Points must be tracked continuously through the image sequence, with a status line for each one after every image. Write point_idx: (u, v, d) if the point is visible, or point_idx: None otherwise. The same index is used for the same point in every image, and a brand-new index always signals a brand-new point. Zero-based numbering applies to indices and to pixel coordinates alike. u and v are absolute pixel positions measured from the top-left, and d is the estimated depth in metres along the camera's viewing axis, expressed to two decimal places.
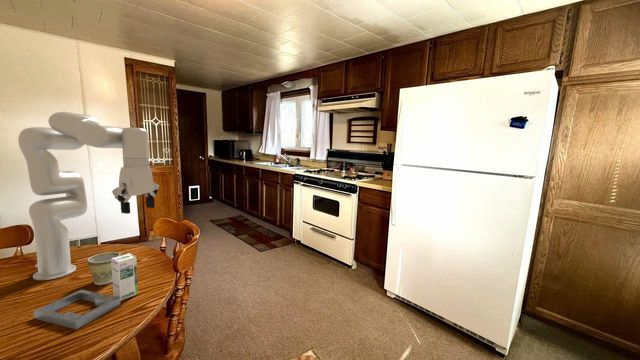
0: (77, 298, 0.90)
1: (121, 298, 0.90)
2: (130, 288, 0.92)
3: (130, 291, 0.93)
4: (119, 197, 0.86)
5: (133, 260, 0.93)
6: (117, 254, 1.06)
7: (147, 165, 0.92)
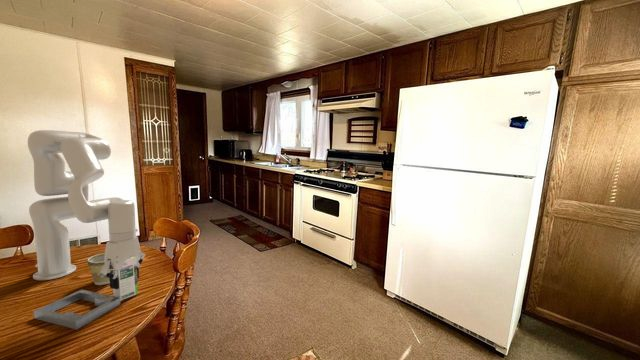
0: (77, 298, 0.90)
1: (121, 298, 0.90)
2: (130, 288, 0.92)
3: (130, 291, 0.93)
4: (108, 275, 0.87)
5: (133, 260, 0.93)
6: None
7: (133, 237, 0.92)
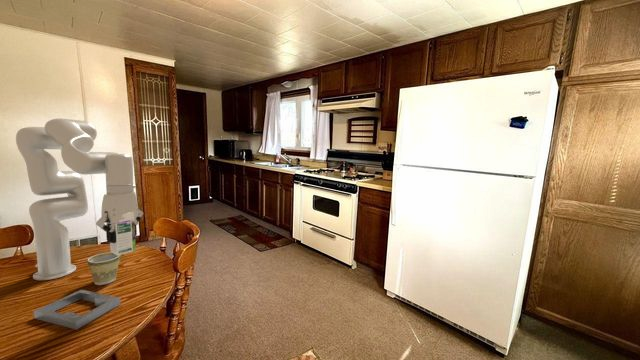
0: (77, 298, 0.90)
1: (118, 253, 0.89)
2: (127, 244, 0.91)
3: (128, 247, 0.91)
4: (104, 227, 0.85)
5: (131, 215, 0.91)
6: None
7: (131, 191, 0.90)
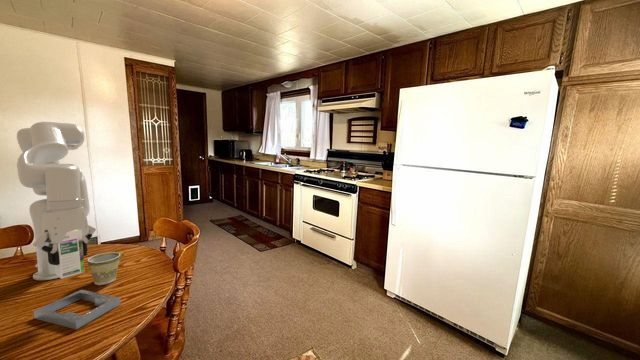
0: (77, 298, 0.90)
1: (62, 276, 0.80)
2: (73, 265, 0.82)
3: (74, 269, 0.82)
4: (44, 248, 0.76)
5: (78, 233, 0.82)
6: (117, 254, 1.06)
7: (77, 207, 0.81)
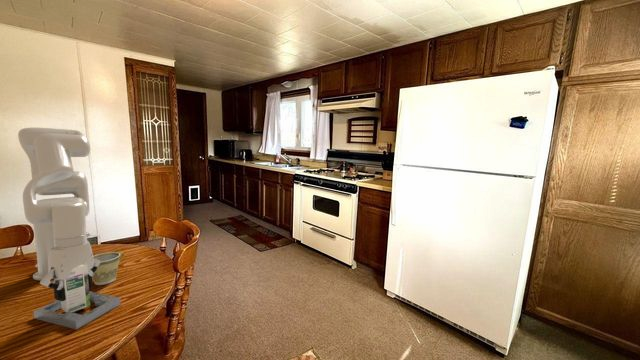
0: None
1: (68, 311, 0.81)
2: (79, 300, 0.83)
3: (80, 303, 0.83)
4: (50, 286, 0.77)
5: (83, 268, 0.83)
6: (117, 254, 1.06)
7: (83, 243, 0.82)
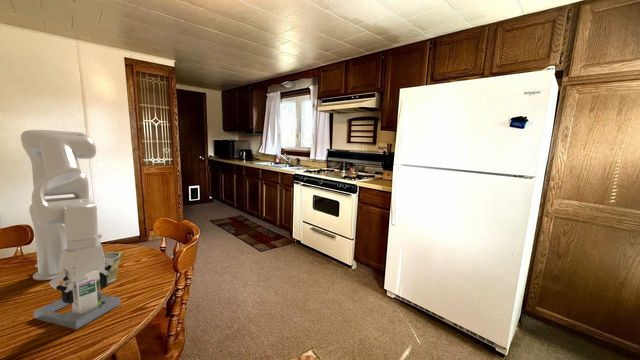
0: None
1: None
2: (91, 306, 0.82)
3: (92, 309, 0.82)
4: (58, 288, 0.75)
5: (95, 273, 0.82)
6: (117, 254, 1.06)
7: (95, 244, 0.81)
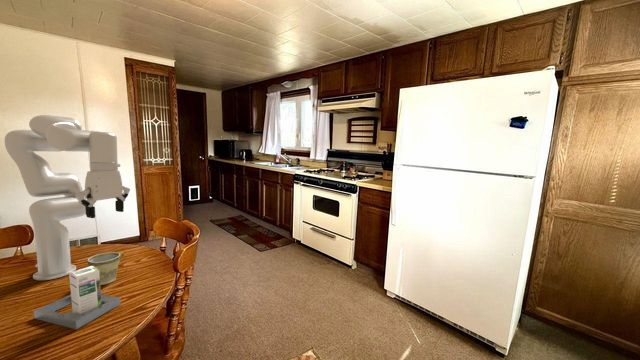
0: None
1: None
2: (91, 306, 0.82)
3: (92, 309, 0.82)
4: (83, 202, 0.85)
5: (95, 273, 0.82)
6: (117, 254, 1.06)
7: (115, 170, 0.92)
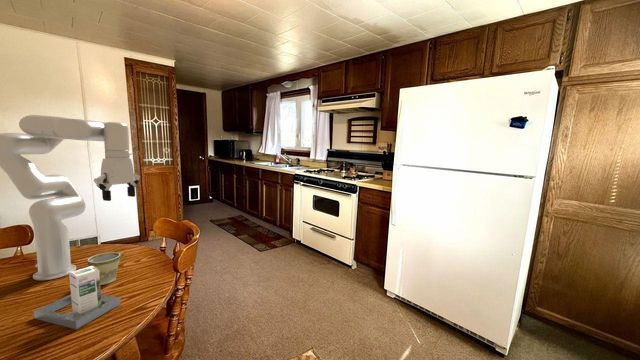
0: None
1: None
2: (91, 306, 0.82)
3: (92, 309, 0.82)
4: (100, 185, 0.94)
5: (95, 273, 0.82)
6: (117, 254, 1.06)
7: (127, 157, 1.00)
